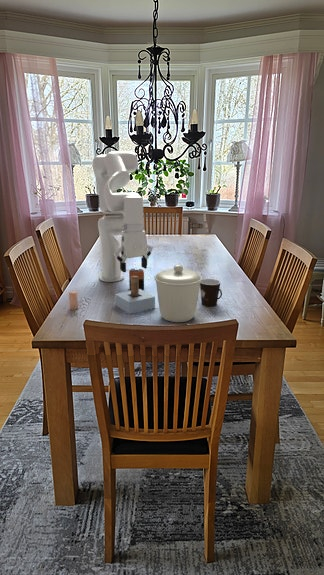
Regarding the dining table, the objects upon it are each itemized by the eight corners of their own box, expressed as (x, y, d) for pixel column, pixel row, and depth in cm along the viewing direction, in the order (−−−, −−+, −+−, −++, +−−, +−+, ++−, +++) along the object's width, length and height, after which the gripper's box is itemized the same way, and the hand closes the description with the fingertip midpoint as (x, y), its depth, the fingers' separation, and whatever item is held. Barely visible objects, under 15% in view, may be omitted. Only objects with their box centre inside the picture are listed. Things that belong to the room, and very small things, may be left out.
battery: (129, 288, 188) (129, 267, 185) (143, 287, 189) (143, 267, 186) (129, 291, 184) (129, 270, 181) (144, 290, 185) (144, 270, 182)
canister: (194, 307, 164) (196, 258, 158) (206, 325, 147) (208, 270, 141) (151, 310, 162) (151, 259, 155) (157, 328, 145) (157, 272, 138)
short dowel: (68, 308, 163) (67, 292, 161) (76, 306, 165) (75, 290, 163) (71, 310, 161) (70, 294, 159) (79, 308, 163) (78, 292, 160)
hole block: (115, 305, 167) (115, 293, 165) (140, 299, 173) (139, 288, 172) (129, 314, 157) (129, 302, 156) (155, 308, 164) (154, 296, 162)
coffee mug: (197, 300, 172) (198, 278, 169) (217, 300, 173) (218, 278, 170) (201, 310, 161) (202, 287, 158) (222, 310, 162) (224, 287, 159)
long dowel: (133, 308, 163) (133, 278, 159) (129, 306, 166) (129, 276, 161) (140, 307, 165) (139, 277, 161) (136, 304, 167) (135, 275, 163)
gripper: (118, 231, 147) (119, 275, 153) (157, 227, 157) (156, 268, 163) (109, 228, 153) (110, 270, 159) (147, 224, 162) (147, 264, 168)
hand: (133, 269), depth 161 cm, fingers open, 9 cm apart
